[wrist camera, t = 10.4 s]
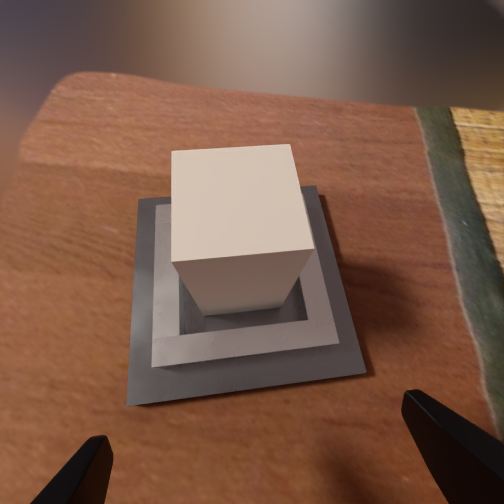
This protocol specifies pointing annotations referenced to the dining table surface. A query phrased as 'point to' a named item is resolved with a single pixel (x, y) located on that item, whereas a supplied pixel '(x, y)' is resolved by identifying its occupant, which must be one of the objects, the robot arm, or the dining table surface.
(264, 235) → the square block
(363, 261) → the dining table surface
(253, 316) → the locating plate
